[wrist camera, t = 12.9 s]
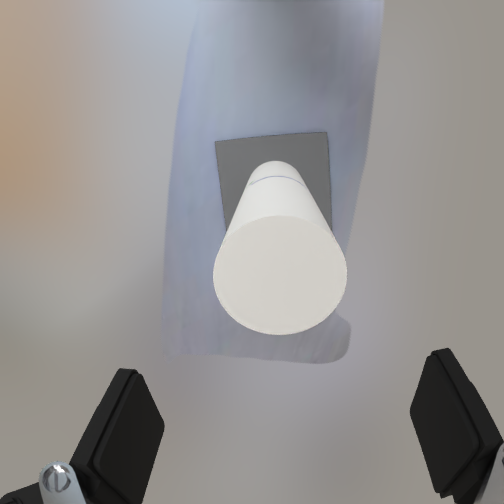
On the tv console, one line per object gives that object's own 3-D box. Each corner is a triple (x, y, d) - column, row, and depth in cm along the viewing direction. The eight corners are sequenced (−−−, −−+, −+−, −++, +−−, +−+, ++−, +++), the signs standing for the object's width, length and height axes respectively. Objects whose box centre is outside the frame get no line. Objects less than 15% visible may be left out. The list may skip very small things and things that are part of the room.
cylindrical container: (312, 202, 40) (362, 307, 17) (262, 224, 42) (249, 349, 19) (289, 151, 38) (318, 191, 15) (237, 175, 39) (188, 250, 16)
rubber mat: (215, 141, 39) (214, 141, 38) (325, 132, 37) (326, 132, 36) (229, 243, 44) (228, 245, 43) (330, 235, 42) (331, 237, 42)
